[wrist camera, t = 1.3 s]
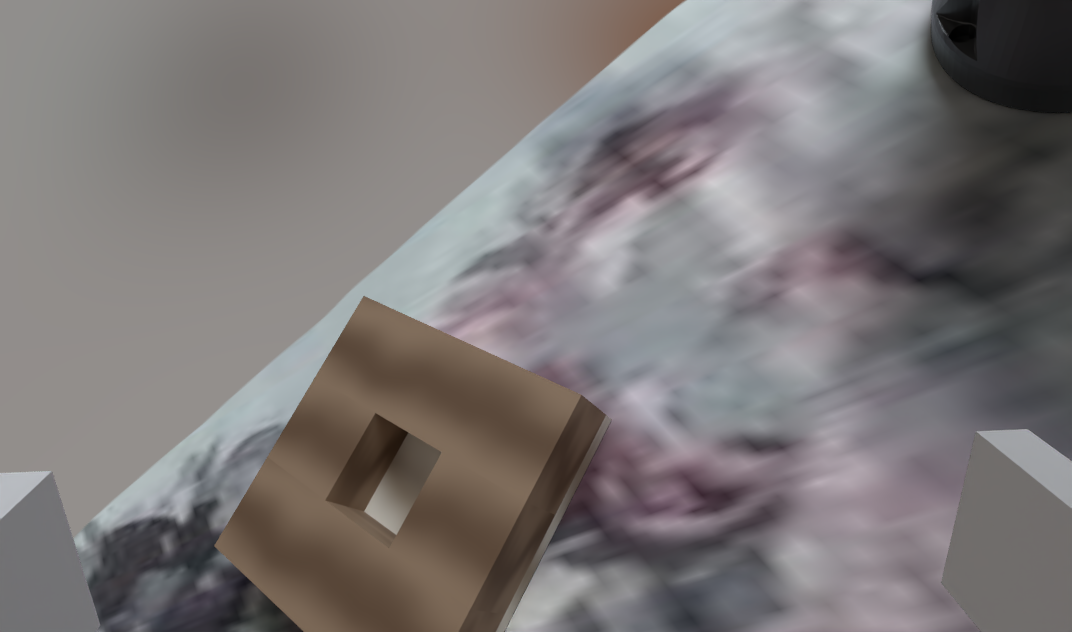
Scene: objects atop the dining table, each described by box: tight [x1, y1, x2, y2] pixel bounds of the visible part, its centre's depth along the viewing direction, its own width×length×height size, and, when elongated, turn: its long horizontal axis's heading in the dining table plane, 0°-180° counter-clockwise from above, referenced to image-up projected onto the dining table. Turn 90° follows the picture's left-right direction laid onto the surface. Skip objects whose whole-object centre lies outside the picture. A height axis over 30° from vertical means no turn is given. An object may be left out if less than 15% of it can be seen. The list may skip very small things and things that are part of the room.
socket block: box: [215, 296, 612, 632], centre depth 47 cm, size 20×20×5 cm
